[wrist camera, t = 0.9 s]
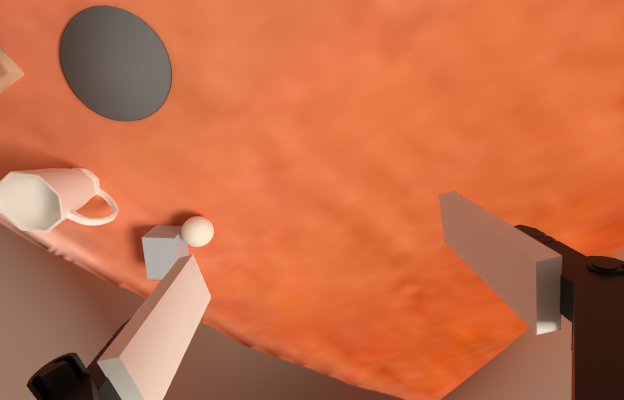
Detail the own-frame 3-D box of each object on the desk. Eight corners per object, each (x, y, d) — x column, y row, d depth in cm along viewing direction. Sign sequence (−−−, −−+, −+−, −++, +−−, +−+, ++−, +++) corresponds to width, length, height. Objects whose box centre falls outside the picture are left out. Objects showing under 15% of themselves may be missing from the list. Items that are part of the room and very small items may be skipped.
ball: (183, 215, 40) (171, 226, 37) (212, 209, 40) (202, 220, 36) (193, 241, 42) (182, 255, 38) (221, 235, 41) (212, 248, 38)
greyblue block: (156, 224, 41) (141, 237, 37) (186, 225, 41) (174, 238, 37) (161, 263, 43) (147, 278, 39) (189, 263, 43) (178, 279, 39)
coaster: (44, 21, 33) (39, 20, 32) (148, -5, 32) (145, -7, 32) (92, 130, 37) (89, 130, 36) (186, 109, 36) (184, 109, 35)
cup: (63, 146, 37) (1, 157, 29) (141, 185, 39) (101, 205, 31) (47, 192, 39) (-15, 215, 31) (122, 227, 41) (80, 257, 33)
